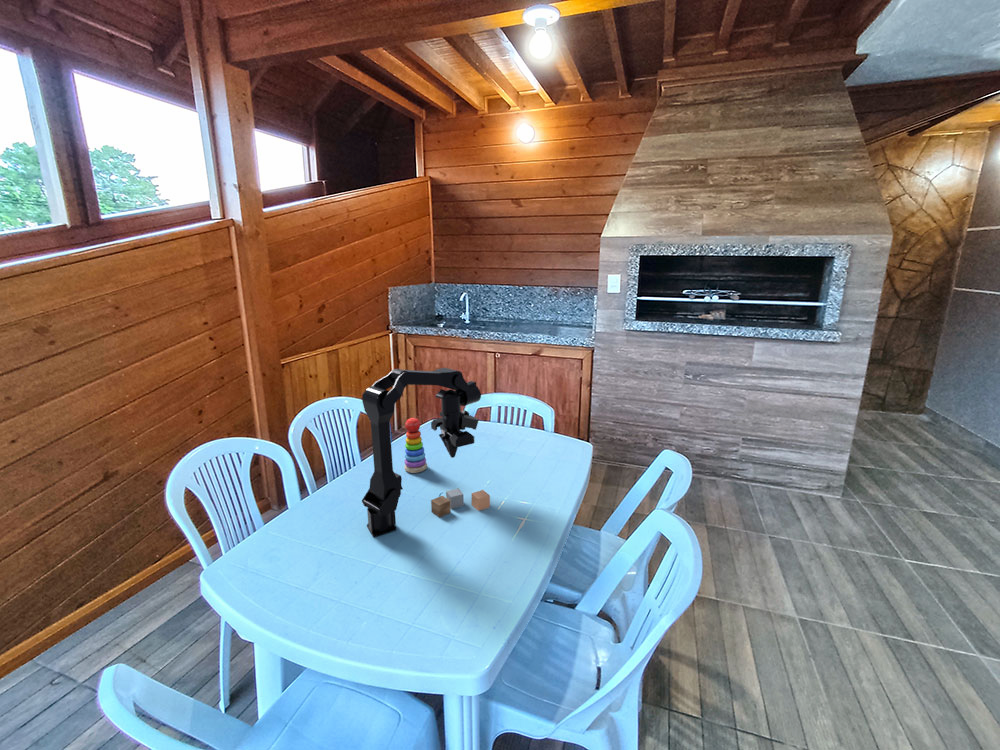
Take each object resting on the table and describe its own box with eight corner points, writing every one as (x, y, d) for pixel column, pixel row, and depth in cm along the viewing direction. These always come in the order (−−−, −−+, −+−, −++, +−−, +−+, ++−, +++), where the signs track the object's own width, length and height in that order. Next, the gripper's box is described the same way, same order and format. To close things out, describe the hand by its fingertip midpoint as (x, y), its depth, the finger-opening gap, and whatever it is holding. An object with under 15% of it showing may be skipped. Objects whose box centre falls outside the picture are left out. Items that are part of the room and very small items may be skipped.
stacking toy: (429, 464, 170) (427, 414, 166) (424, 474, 163) (421, 423, 158) (408, 463, 171) (405, 414, 166) (401, 473, 163) (398, 422, 159)
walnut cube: (439, 517, 136) (438, 505, 135) (431, 512, 139) (431, 500, 138) (450, 512, 139) (450, 500, 138) (442, 507, 142) (442, 495, 141)
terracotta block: (478, 511, 140) (477, 498, 139) (471, 505, 143) (471, 493, 142) (489, 507, 142) (489, 495, 141) (483, 501, 145) (483, 489, 144)
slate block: (451, 509, 141) (450, 497, 140) (446, 503, 144) (446, 491, 143) (463, 506, 143) (463, 494, 142) (458, 500, 146) (458, 488, 145)
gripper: (489, 413, 140) (490, 462, 144) (461, 397, 156) (462, 441, 159) (455, 420, 135) (457, 470, 138) (429, 403, 150) (431, 448, 154)
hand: (452, 457), depth 148 cm, fingers closed
